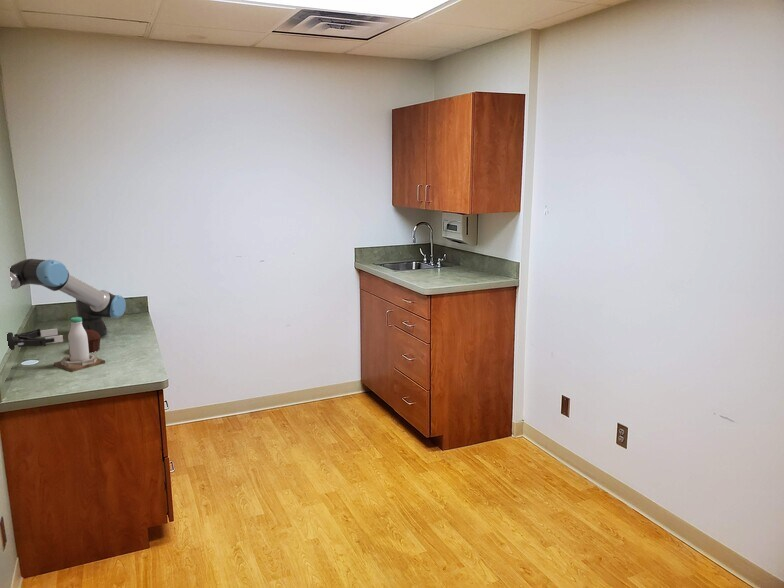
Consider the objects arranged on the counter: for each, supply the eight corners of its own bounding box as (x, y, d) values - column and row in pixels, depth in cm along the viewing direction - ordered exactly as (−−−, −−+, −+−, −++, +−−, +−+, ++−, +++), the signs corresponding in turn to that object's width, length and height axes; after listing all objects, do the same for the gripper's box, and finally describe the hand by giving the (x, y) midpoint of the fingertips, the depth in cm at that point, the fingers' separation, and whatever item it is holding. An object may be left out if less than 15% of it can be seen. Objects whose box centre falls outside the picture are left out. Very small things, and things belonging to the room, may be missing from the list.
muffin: (103, 352, 289) (101, 331, 287) (77, 355, 284) (75, 334, 282) (100, 346, 299) (98, 326, 297) (75, 349, 294) (73, 329, 292)
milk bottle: (93, 359, 273) (89, 316, 269) (79, 364, 266) (75, 320, 262) (80, 358, 276) (76, 315, 272) (66, 362, 269) (62, 319, 265)
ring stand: (86, 357, 281) (86, 351, 281) (105, 362, 273) (104, 356, 273) (53, 365, 269) (53, 359, 268) (72, 371, 261) (71, 365, 260)
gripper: (0, 344, 262) (56, 337, 275) (6, 358, 242) (65, 349, 255) (-2, 327, 261) (54, 320, 273) (4, 340, 241) (64, 332, 253)
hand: (60, 334), depth 264 cm, fingers open, 13 cm apart
